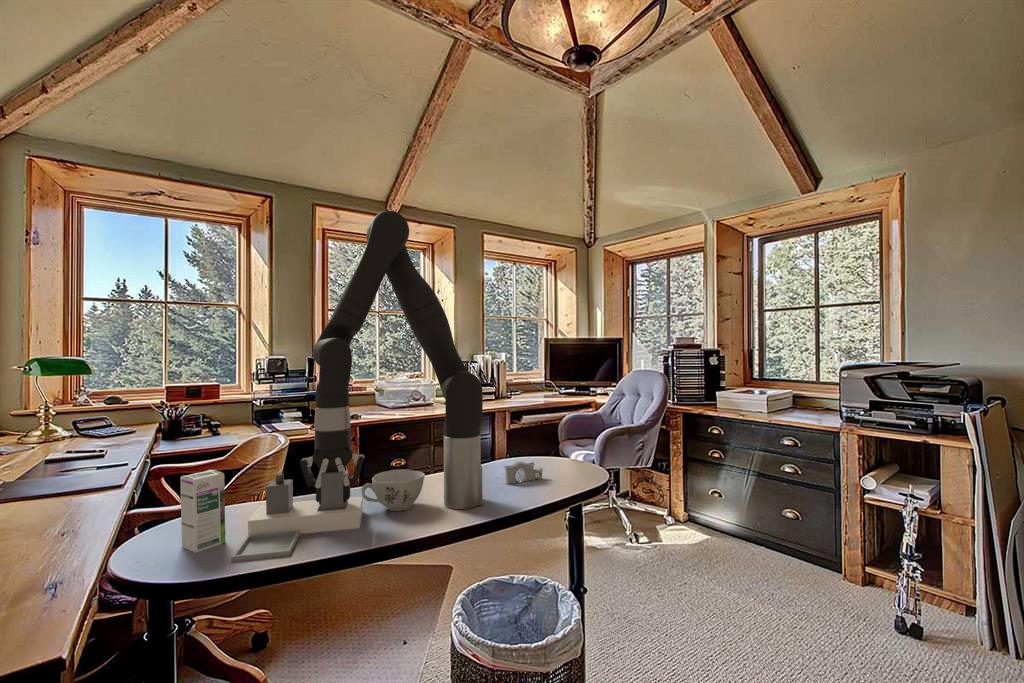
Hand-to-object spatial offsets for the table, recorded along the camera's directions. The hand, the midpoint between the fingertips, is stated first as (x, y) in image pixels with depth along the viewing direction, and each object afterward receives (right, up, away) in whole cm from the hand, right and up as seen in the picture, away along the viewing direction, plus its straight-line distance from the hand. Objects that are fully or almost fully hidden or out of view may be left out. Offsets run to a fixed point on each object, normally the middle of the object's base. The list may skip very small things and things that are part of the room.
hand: (333, 502), depth 106 cm
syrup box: (-22, -5, -11) cm, 25 cm away
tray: (-8, -5, -13) cm, 16 cm away
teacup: (+11, -5, +9) cm, 15 cm away
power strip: (-5, -5, -1) cm, 7 cm away
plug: (0, -3, 0) cm, 3 cm away
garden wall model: (+44, -5, +31) cm, 54 cm away
